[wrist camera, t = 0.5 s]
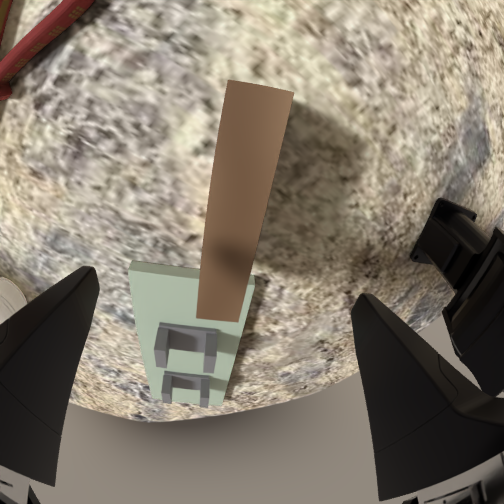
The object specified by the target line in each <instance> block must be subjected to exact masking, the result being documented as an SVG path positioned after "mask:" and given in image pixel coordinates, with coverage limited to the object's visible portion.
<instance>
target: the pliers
mask: <svg viewBox="0 0 504 504" xmlns="http://www.w3.org/2000/svg"><path fill="white" fill-rule="evenodd" d="M94 1H95V0H63V1H62V2H61V3H60V4H59V5H58V6H57V7H56V8H55V9H54V10H53V11H52V12H51V13H50V14H49V15H48V16H47V17H46V18H45V19H43V20H42V21H41V22H40V23H39V24H38V25H37V26H35V27H34V28H33V29H32V30H31V31H30V32H29V33H28V34H27V35H26V36H25V37H24V38H23V39H22V40H21V41H20V42H19V43H18V44H17V45H16V46H15V47H14V48H13V49H12V50H11V51H10V52H9V53H8V54H7V55H6V56H5V57H4V58H3V60H2V61H1V62H0V101H1V100H5V99H8V98H9V96H10V95H11V94H12V91H11V87H10V84H9V81H10V80H11V79H12V78H13V76H14V75H15V74H16V73H17V72H18V71H19V70H20V69H21V68H22V67H23V66H24V65H25V64H26V63H27V62H28V61H29V60H31V59H32V58H33V57H34V56H35V55H36V54H37V53H38V52H39V51H40V50H42V49H43V48H44V47H45V46H46V45H47V44H49V43H50V42H51V41H52V40H53V39H55V38H56V37H57V36H58V35H60V34H61V33H62V32H63V31H64V30H66V29H67V28H68V27H69V26H70V25H71V24H73V23H74V22H75V21H76V20H77V19H78V18H79V17H80V16H81V15H82V14H83V13H84V12H85V11H86V10H87V9H88V8H89V7H90V6H91V4H92V3H93V2H94ZM12 2H13V0H0V46H1V41H2V37H3V33H4V29H5V25H6V21H7V18H8V14H9V11H10V8H11V5H12Z"/></svg>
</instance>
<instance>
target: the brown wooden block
mask: <svg viewBox="0 0 504 504" xmlns="http://www.w3.org/2000/svg"><path fill="white" fill-rule="evenodd" d="M293 96H294V92H290V91H286V90H282V89H277V88H273V87H268V86H263V85H258V84H252V83H246V82H240V81H234V80H228V83H227V88H226V93H225V98H224V104H223V109H222V115H221V120H220V126H219V132H218V138H217V144H216V150H215V156H214V163H213V169H212V176H211V183H210V190H209V198H208V205H207V213H206V221H205V229H204V238H203V247H202V256H201V266H200V276H199V287H198V299H197V311H196V318H197V319H206V320H216V321H226V322H237V323H238V322H239V318H240V314H241V310H242V306H243V302H244V298H245V293H246V289H247V285H248V281H249V277H250V273H251V269H252V265H253V261H254V257H255V253H256V249H257V245H258V241H259V236H260V232H261V228H262V224H263V220H264V216H265V212H266V208H267V204H268V200H269V195H270V191H271V187H272V183H273V179H274V175H275V171H276V167H277V162H278V158H279V154H280V150H281V146H282V142H283V137H284V133H285V129H286V125H287V121H288V117H289V112H290V108H291V104H292V100H293Z"/></svg>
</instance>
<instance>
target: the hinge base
mask: <svg viewBox="0 0 504 504" xmlns="http://www.w3.org/2000/svg"><path fill="white" fill-rule="evenodd" d="M128 275H129V283H130V291H131V298H132V305H133V311H134V317H135V323H136V328H137V334H138V339H139V344H140V349H141V354H142V358H143V363H144V367H145V371H146V375H147V379H148V383H149V387H150V391H151V394H152V398H153V399H160V400H163V403H168V404H171V402H172V401H174V402H183V403H192V404H200V407H205V408H208V405H217V406H222V403H223V399H224V396H225V392H226V389H227V385H228V382H229V378H230V375H231V371H232V367H233V364H234V360H235V357H236V353H237V350H238V346H239V342H240V339H241V335H242V332H243V328H244V324H245V321H246V317H247V313H248V310H249V306H250V302H251V299H252V295H253V291H254V287H255V280H254V275H250V277H249V281H248V285H247V289H246V293H245V298H244V302H243V306H242V310H241V314H240V318H239V322H238V323H237V322H226V321H216V320H206V319H197V318H196V311H197V299H198V287H199V276H200V269H194V268H185V267H177V266H169V265H161V264H154V263H146V262H139V261H132V262H131V264H130V266H129V269H128Z"/></svg>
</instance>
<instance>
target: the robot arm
mask: <svg viewBox="0 0 504 504" xmlns="http://www.w3.org/2000/svg"><path fill="white" fill-rule="evenodd" d="M476 217H477V214H476V213H475V212H474V211H472V210H469V209H467V208H465V207H463V206H460V205H458V204H456V203H453V202H451V201H448V200H446V199H444V198H438V199H437V200H436V202H435V205H434V207H433V209H432V211H431V214H430V216H429V218H428V220H427V222H426V224H425V227H424V229H423V231H422V233H421V235H420V237H419V239H418V241H417V243H416V245H415V247H414V249H413V251H412V252H411V254H410V258H411V260H412V261H413V262H419V263H426V264H432V265H434V266H435V267H436V269H437V270H438V271H439V272H440V274H441V275H442V276H443V277H444V279H445V280H446V281H447V283H448V284H449V285H450V287H451V288H452V289H453V291H454V292H455V296H454V297H453V299H452V300H451V301H450V303H449V304H448V305H447V307H445V308H444V309H443V310H442V314H443V317H444V320H445V323H446V326H447V329H448V332H449V335H450V339H451V342H452V345H453V348H454V351H455V354H456V355H457V356H458V357H459V359H460V361H461V362H462V363H463V364H465V366H467V367H468V369H469V370H470V371H471V372H472V374H473V375H474V377H475V378H476V380H477V382H478V384H479V385H480V387H481V390H482V391H481V390H480V389H479V388H478V387H477V386H475V385H474V384H473V383H472V382H471V381H469V380H468V379H467V378H466V377H465V376H463V375H462V374H461V373H460V372H459V371H458V370H456V369H455V368H454V367H453V366H452V365H451V364H450V363H449V362H447V361H446V360H445V359H444V358H443V357H442V356H441V355H440V354H438V352H436V350H434V348H432V347H431V346H430V345H429V344H428V343H427V342H426V341H425V340H424V339H423V338H421V337H420V336H419V335H418V334H417V333H416V332H415V331H414V330H413V329H412V328H410V327H409V326H408V325H407V324H406V323H405V322H404V321H403V320H401V319H400V318H399V317H398V316H397V315H396V314H395V313H393V312H392V311H391V310H390V309H389V308H388V307H387V306H385V305H384V304H383V303H382V302H381V301H380V300H378V299H377V298H376V297H375V296H374V295H372V294H369V293H362V294H360V295H359V297H358V299H357V301H356V303H355V304H354V306H353V308H352V311H351V320H352V327H353V335H354V343H355V350H356V356H357V360H358V365H359V370H360V374H361V379H362V384H363V389H364V394H365V400H366V405H367V410H368V416H369V422H370V429H371V435H372V442H373V449H374V458H375V465H376V475H377V485H378V496H379V501H384V500H388V499H392V498H396V497H400V496H403V495H406V494H410V493H413V492H417V496H415V497H412V498H410V499H408V500H406V501H404V502H403V503H402V504H504V398H498V397H496V396H497V395H499V394H500V393H501V392H504V231H503V230H501V229H499V228H498V227H495V229H494V231H493V235H492V237H491V238H490V237H489V236H488V235H487V234H486V233H485V232H484V231H483V230H482V229H481V228H480V227H479V226H478V225H476V224H475V223H474V222H475V220H476ZM99 291H100V286H99V282H98V278H97V274H96V270H95V268H94V267H91V266H82V267H80V268H79V269H77V270H76V271H74V272H73V273H71V274H70V275H68V276H67V277H65V278H64V279H62V280H61V281H59V282H58V283H56V284H55V285H53V286H52V287H50V288H49V289H47V290H46V291H45V292H43V293H42V294H40V295H39V296H38V297H36V298H35V299H33V300H32V301H31V302H29V303H28V304H26V305H25V306H24V307H22V308H21V309H20V310H18V311H17V312H16V313H14V314H13V315H12V316H10V317H9V319H6V320H5V321H4V322H3V323H1V324H0V504H40V502H39V500H38V499H37V497H36V495H35V494H34V492H33V490H32V488H31V486H30V485H29V482H30V479H33V480H36V481H39V482H41V483H44V484H47V485H50V486H53V487H55V480H56V471H57V462H58V455H59V448H60V442H61V435H62V430H63V425H64V420H65V414H66V410H67V406H68V402H69V398H70V394H71V390H72V386H73V382H74V378H75V375H76V371H77V368H78V364H79V361H80V358H81V355H82V352H83V348H84V345H85V342H86V339H87V336H88V333H89V330H90V326H91V322H92V318H93V314H94V310H95V306H96V302H97V299H98V295H99Z"/></svg>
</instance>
